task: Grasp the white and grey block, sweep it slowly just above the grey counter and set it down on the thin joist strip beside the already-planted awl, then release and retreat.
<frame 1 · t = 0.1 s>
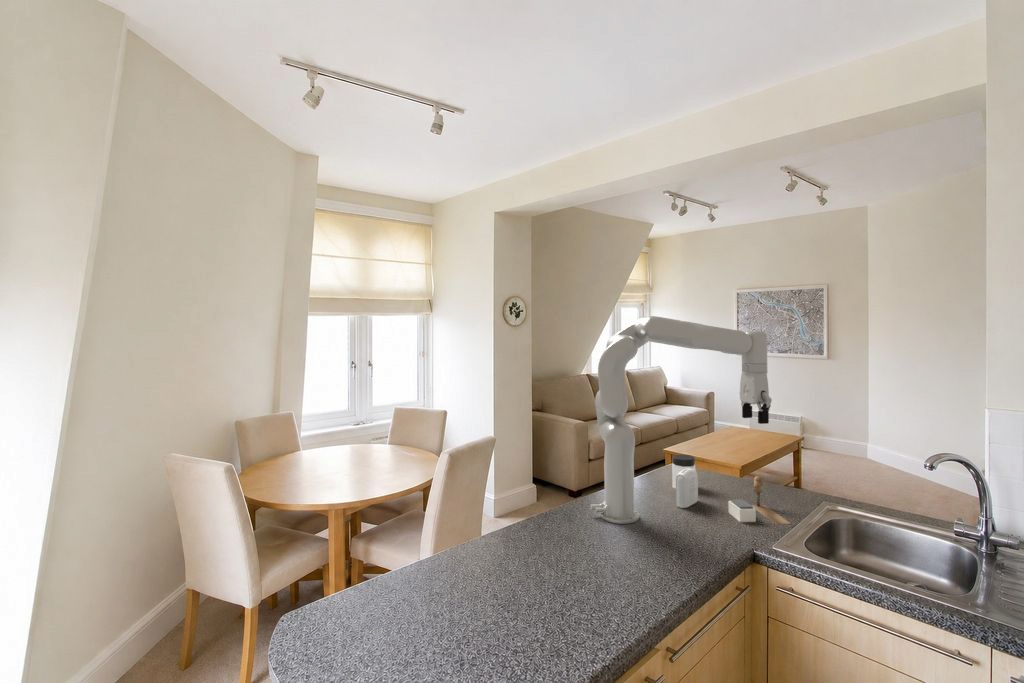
hand: (755, 420, 159), 31 cm above the countertop, fingers open, 9 cm apart
joist strip: (769, 514, 159), on the countertop
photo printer: (687, 504, 170), on the countertop
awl: (758, 505, 166), resting on joist strip
white and grey block: (741, 518, 157), on the countertop
jar: (684, 488, 187), on the countertop
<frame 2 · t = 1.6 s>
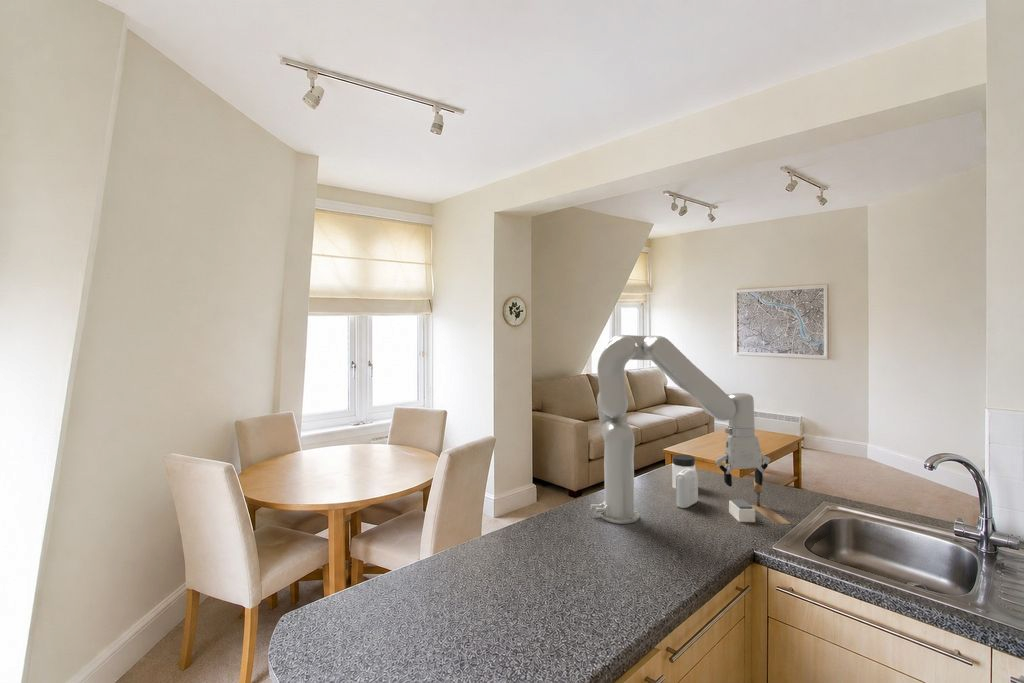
hand: (743, 484, 157), 11 cm above the countertop, fingers open, 9 cm apart
nothing on the countertop moved.
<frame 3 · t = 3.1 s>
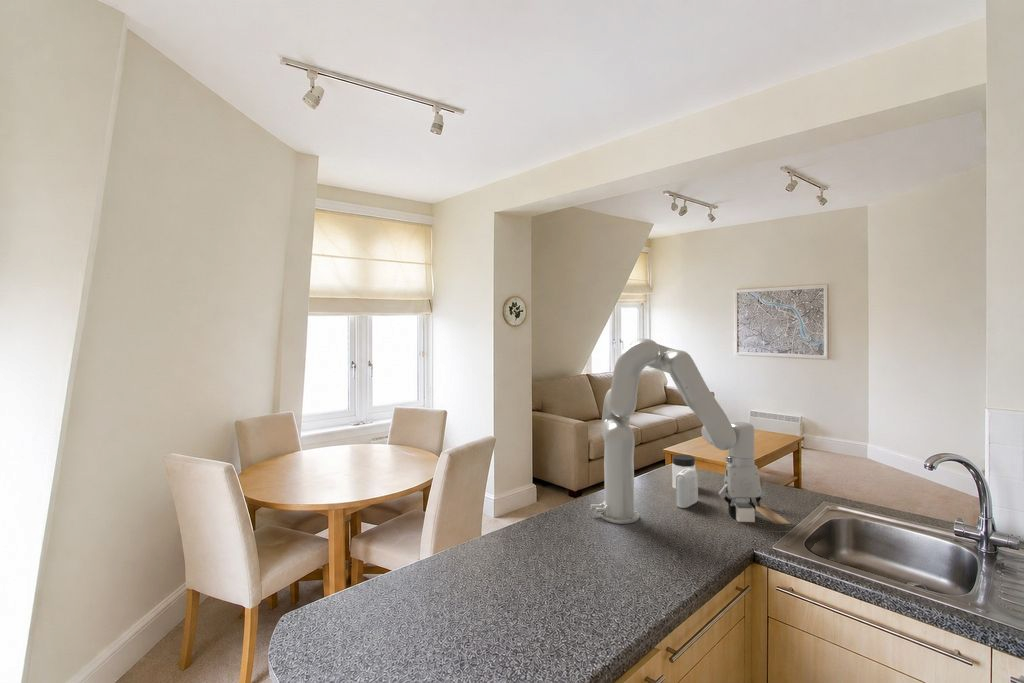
hand: (742, 515, 157), 1 cm above the countertop, fingers closed on white and grey block, 5 cm apart
white and grey block: (741, 517, 157), on the countertop, touching gripper
everything else where it was.
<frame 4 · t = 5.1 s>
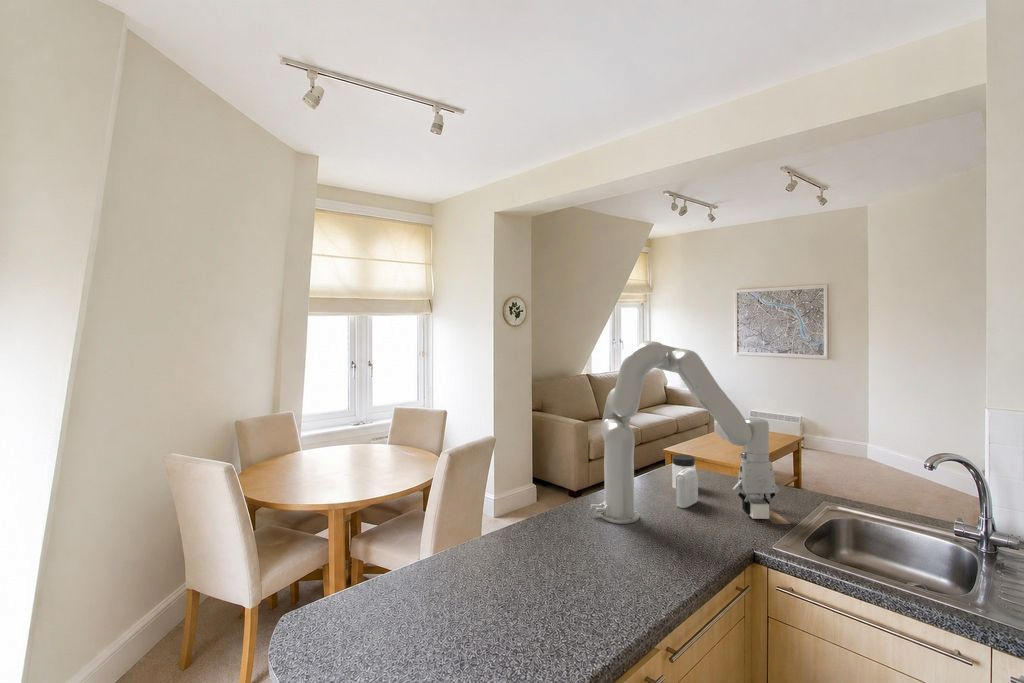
hand: (756, 511, 157), 2 cm above the countertop, fingers closed on white and grey block, 5 cm apart
white and grey block: (756, 513, 157), point 1 cm above the countertop, touching gripper
everything else where it was.
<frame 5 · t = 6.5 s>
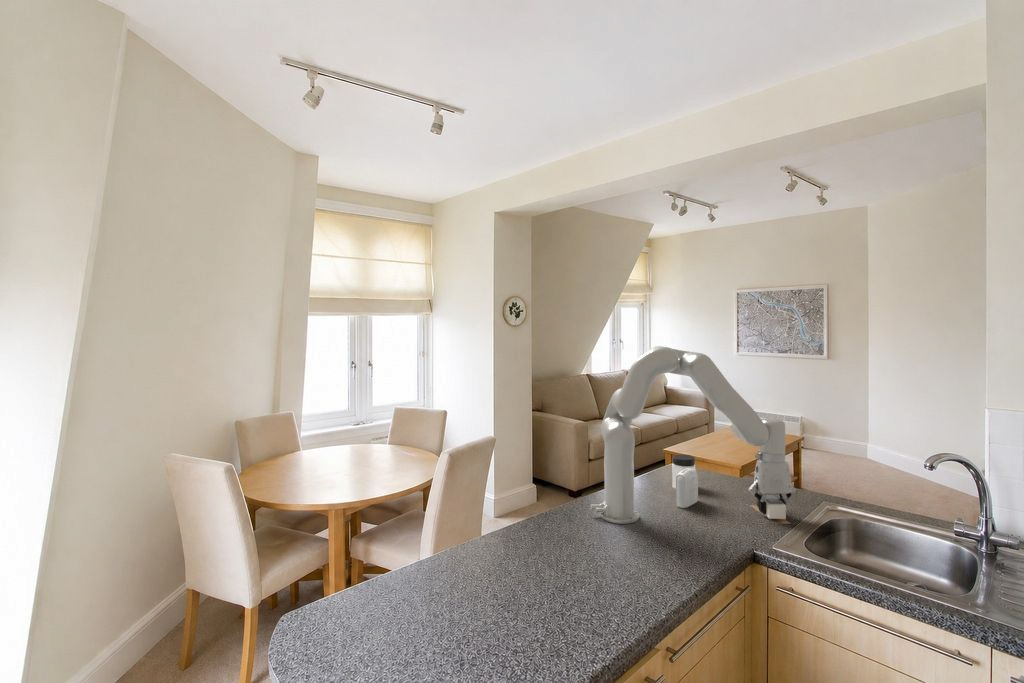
hand: (772, 512, 157), 2 cm above the countertop, fingers closed on white and grey block, 5 cm apart
white and grey block: (772, 513, 157), point 1 cm above the countertop, touching gripper
everything else where it was.
when the fingers open (2 cm above the countertop, at t = 7.4 s): white and grey block stays where it is, resting on joist strip.
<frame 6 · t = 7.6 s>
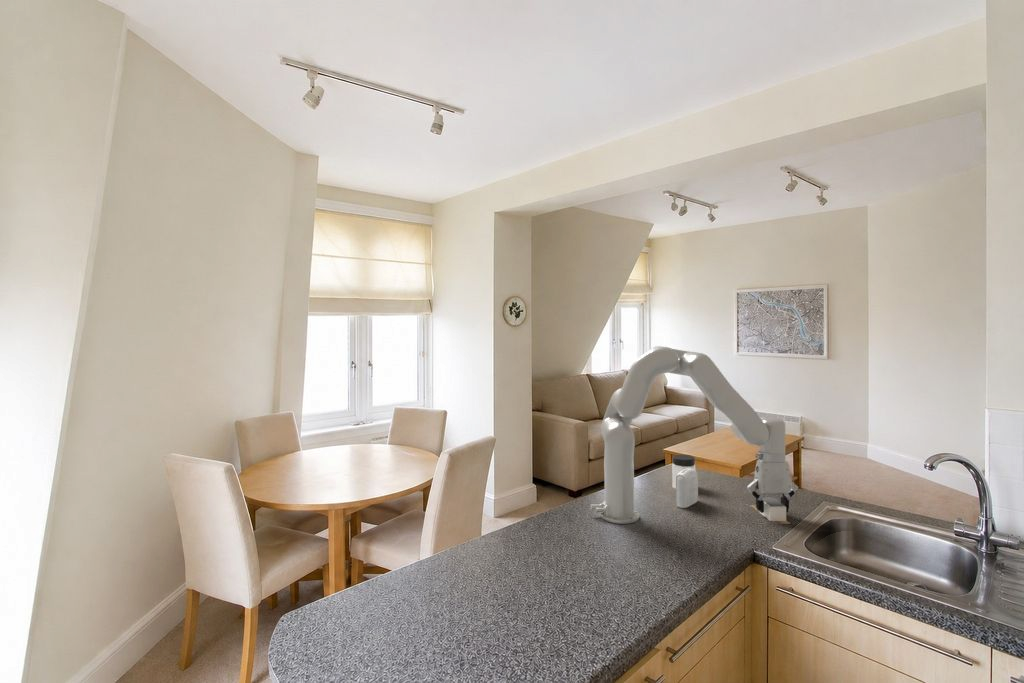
hand: (772, 510, 157), 2 cm above the countertop, fingers open, 7 cm apart
white and grey block: (772, 516, 157), resting on joist strip
everything else where it was.
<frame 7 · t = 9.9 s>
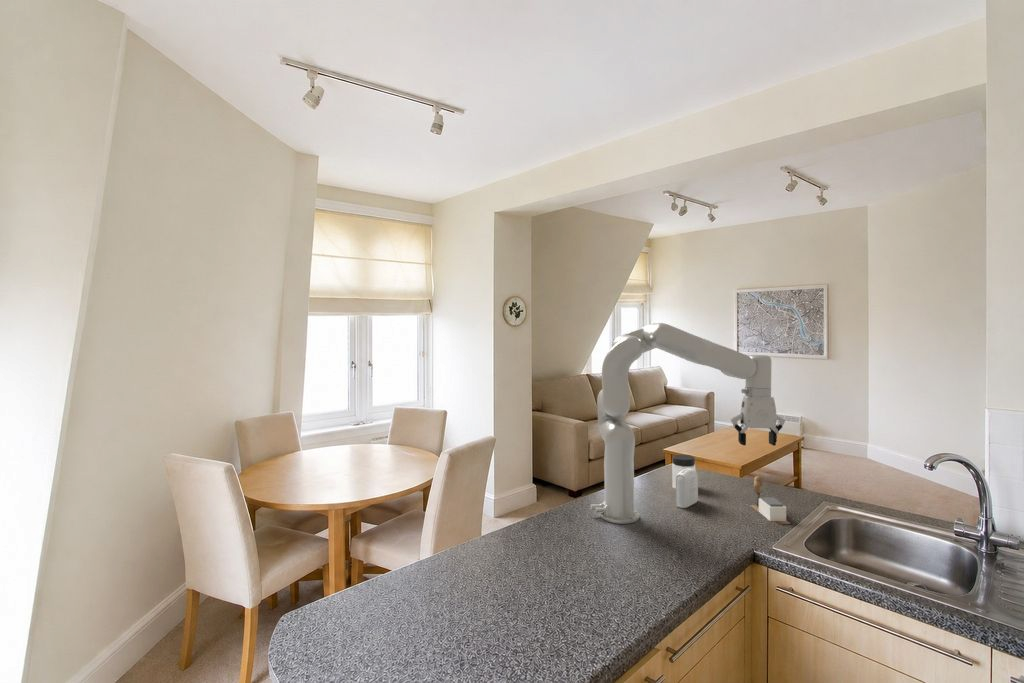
hand: (757, 444, 159), 23 cm above the countertop, fingers open, 9 cm apart
nothing on the countertop moved.
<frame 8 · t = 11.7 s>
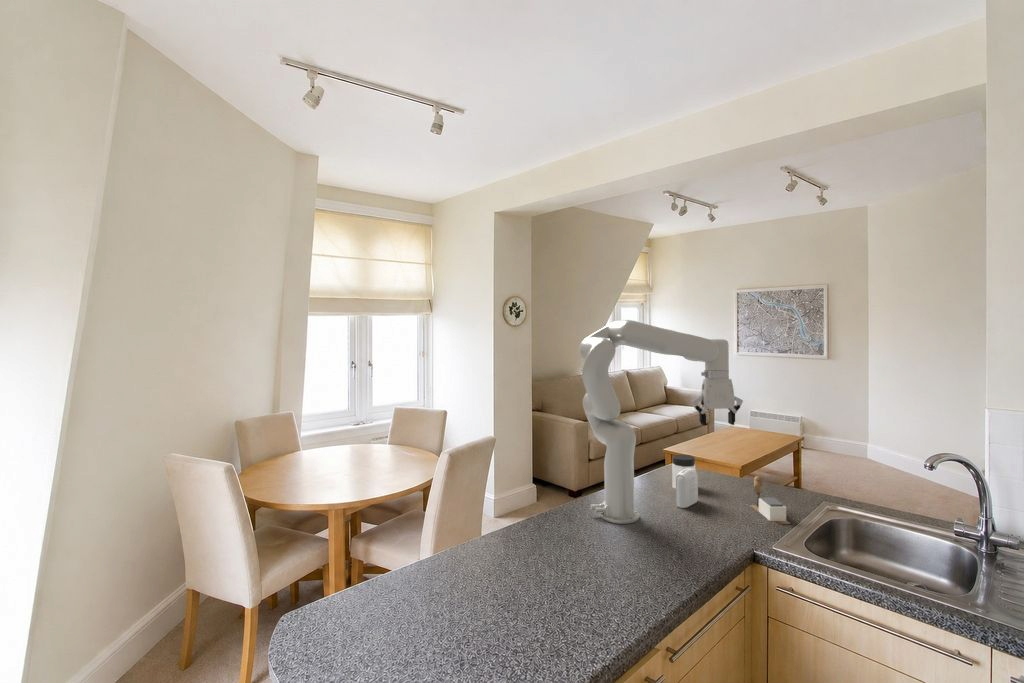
hand: (717, 424, 167), 28 cm above the countertop, fingers open, 9 cm apart
nothing on the countertop moved.
at the end: white and grey block inside the target area (0.1 cm from its centre), resting on joist strip; white and grey block tilted 0°; the gripper is holding nothing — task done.
